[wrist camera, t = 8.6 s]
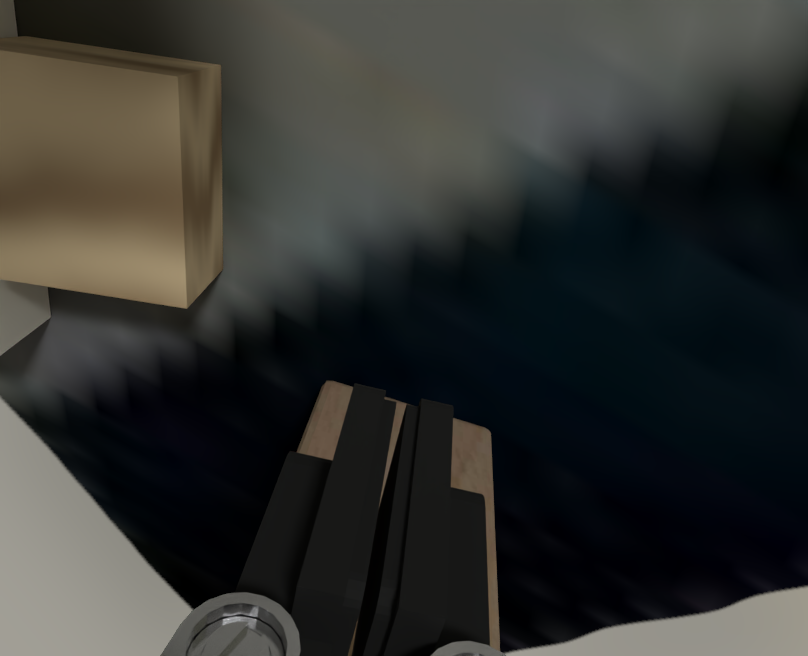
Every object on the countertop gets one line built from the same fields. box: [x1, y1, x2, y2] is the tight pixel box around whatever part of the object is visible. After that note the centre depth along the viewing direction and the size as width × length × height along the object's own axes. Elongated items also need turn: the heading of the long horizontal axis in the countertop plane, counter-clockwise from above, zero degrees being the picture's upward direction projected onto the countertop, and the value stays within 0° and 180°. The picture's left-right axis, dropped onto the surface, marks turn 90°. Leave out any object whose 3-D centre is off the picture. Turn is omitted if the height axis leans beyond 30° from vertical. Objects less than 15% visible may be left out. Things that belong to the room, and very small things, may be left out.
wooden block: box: [297, 381, 500, 656], centre depth 29 cm, size 10×10×20 cm
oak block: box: [0, 36, 223, 309], centre depth 29 cm, size 10×9×5 cm
